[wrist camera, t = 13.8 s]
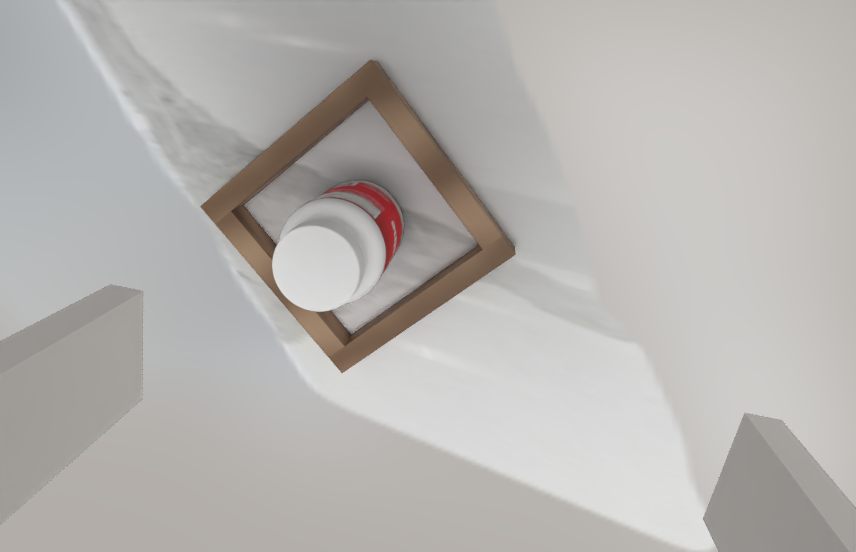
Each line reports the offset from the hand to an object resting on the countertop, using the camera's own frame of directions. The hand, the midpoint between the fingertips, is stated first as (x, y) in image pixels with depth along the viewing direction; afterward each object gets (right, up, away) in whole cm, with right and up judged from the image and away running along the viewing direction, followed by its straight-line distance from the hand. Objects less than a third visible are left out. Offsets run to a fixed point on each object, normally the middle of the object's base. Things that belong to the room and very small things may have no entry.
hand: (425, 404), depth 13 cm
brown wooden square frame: (-5, +6, +28) cm, 29 cm away
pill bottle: (-4, +6, +28) cm, 29 cm away
